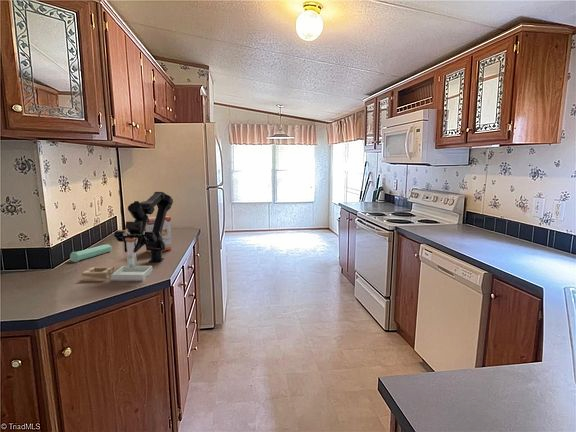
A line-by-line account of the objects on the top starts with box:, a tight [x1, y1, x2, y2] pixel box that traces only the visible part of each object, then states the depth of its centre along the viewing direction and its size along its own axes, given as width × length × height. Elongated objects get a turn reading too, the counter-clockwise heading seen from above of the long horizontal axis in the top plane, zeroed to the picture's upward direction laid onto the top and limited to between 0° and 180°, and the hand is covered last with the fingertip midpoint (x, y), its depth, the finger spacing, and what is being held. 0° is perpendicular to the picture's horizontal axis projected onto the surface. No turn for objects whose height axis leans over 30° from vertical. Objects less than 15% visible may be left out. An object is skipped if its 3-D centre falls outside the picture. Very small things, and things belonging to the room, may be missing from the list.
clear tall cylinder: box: [125, 237, 138, 268], centre depth 164 cm, size 5×5×14 cm
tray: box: [110, 265, 153, 282], centre depth 165 cm, size 14×14×3 cm
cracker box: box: [144, 215, 172, 254], centre depth 212 cm, size 14×6×21 cm, turn 126°
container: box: [69, 243, 113, 263], centre depth 199 cm, size 6×6×25 cm
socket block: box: [81, 266, 115, 282], centre depth 163 cm, size 10×10×4 cm
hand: (130, 252), depth 162 cm, fingers closed on clear tall cylinder, 4 cm apart
